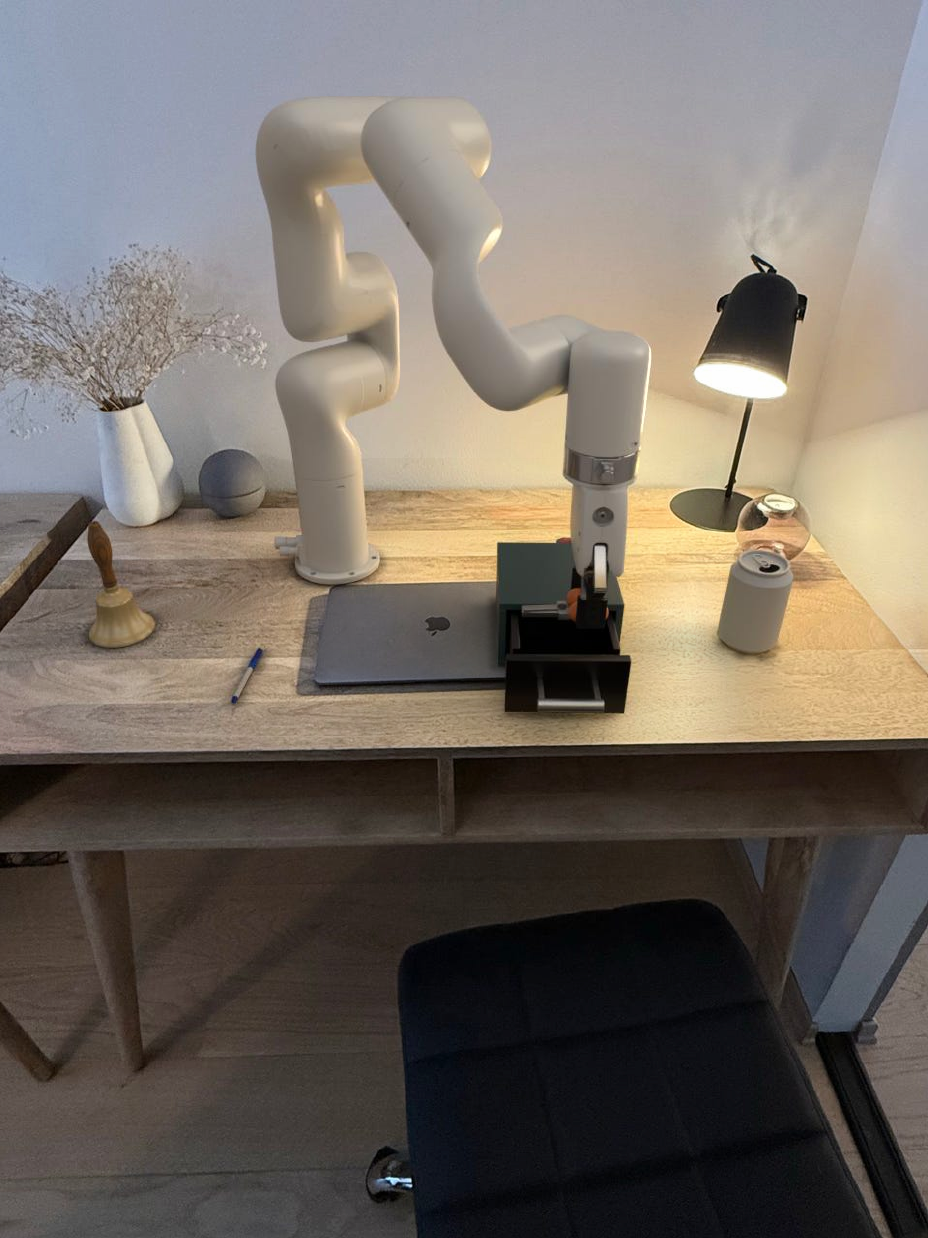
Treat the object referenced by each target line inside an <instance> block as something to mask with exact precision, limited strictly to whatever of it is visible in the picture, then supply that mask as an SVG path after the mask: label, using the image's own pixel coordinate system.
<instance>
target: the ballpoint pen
mask: <svg viewBox="0 0 928 1238" xmlns="http://www.w3.org/2000/svg"><path fill="white" fill-rule="evenodd" d="M262 653H263V649H262V648H261V647H258V648H257V649H256V651H255V652H254V655H253V656H252V658H251V660H250V662H249V664H248V666H247V668H246V671H245V672H244V674H243V676H242V678H241V680H240V682H239V684H238V686H237V688H236V689H235V691H234V693H233V695H232V697H231V701H230V703H232V704H234V703H235V702H236V701H237V700H238V699H239V697H240V696H241V694H242V691H243V690H244V687H245V685H246V684H247V681H248V680H249V678H250V676H251V674H252V672H253V671H254V670H255V668H256V665H257V663H258V662H259V660H260V658H261V656H262Z"/></svg>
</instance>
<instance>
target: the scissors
mask: <svg viewBox="0 0 928 1238" xmlns="http://www.w3.org/2000/svg"><path fill="white" fill-rule="evenodd" d="M578 595H581V588H575V589H572V590H571V591H569V593H568V594H567V601H557V604H556V605H525V606H522V617H558V620H570V619H572V620H573V621H574V622H575V621H576V609H577V597H578ZM608 614H609V611H608V608H607V613H606V618H607V617H608Z"/></svg>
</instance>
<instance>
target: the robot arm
mask: <svg viewBox="0 0 928 1238" xmlns="http://www.w3.org/2000/svg"><path fill="white" fill-rule="evenodd" d="M255 141H256V142H255V164H256V170H257V175H258V181H259V184H260V188H261V191H262V195H263V198H264V201H265V205H266V208H267V212H268V216H269V220H270V221H269V222H270V228H271V239H272V248H273V249H272V250H273V260H274V270H275V279H276V289H277V299H278V306H279V311H280V317H281V321H282V324H283V326H284V328H285V330H286V332H287V333H288V334H289V336H291V338H293V339H295V340H297V341H299V342H302V343H316V342H323V341H327V340H333V339H336V338H340V337H345V336H346V339H347V340H345V341H342V342H339V343H335V344H328V345H325V346H321V347H317V348H313V349H310V350H307V351H304V352H300V353H298V354H295V355H294V356H292V357H290V358H289V359H287V360H286V361H284V363H283V364H282V365H281V367H279V368H278V370H277V373H276V377H275V381H274V382H275V383H274V385H275V387H274V388H275V394H276V398H277V401H278V405H279V408H280V411H281V414H282V417H283V420H284V424H285V428H286V432H287V435H288V441H289V447H290V454H291V459H292V467H293V469H292V470H293V475H294V483H295V484H294V485H295V491H296V499H297V507H298V515H299V523H300V531H301V534H296V535H295V536H275V537H274V541H273V543H274V544H273V545H274V549H275V550H278V551H279V556H280V557H283V556H284V557H289V556H295V558H294V568H295V570H296V573H297V575H299V577H301V578H303V579H304V580H306V581H309V582H311V583H315V584H319V585H327V586H329V585H332V586H333V585H345V584H351V583H355V582H357V581H361V580H363V579H365V578H367V577H369V576H370V575H372V574H373V573H374V572H375V571H376V570H377V569H378V567H379V565H380V563H381V562H380V559H381V557H380V553H379V550H378V549H377V548H376V547H375V546H374V545H373V544H371V543H369V538H368V536H369V535H368V525H367V524H368V523H367V522H368V521H367V511H366V509H367V508H366V497H365V484H364V472H363V471H364V470H363V459H362V457H363V456H362V451H361V447H360V445H359V443H358V441H357V440H356V438H355V436H354V435H353V434H352V433H351V432H350V430H349V429H348V428H347V425H346V420H348V419H350V418H352V417H354V416H356V415H357V416H358V415H359V414H362V413H365V412H369V411H371V410H373V409H377V408H380V407H381V406H384V405H386V404H388V403H389V402H391V400H393V398H394V397H395V396H396V394H397V393H398V389H399V385H400V380H401V339H400V336H401V335H400V334H401V333H400V306H399V305H400V304H399V293H398V288H397V284H396V281H395V279H394V275H393V274H392V272H391V270H390V268H389V267H388V265H387V263H385V262H384V261H383V259H381V258H380V257H379V256H377V255H376V254H374V253H371V252H368V251H353V252H346V249H345V228H344V223H343V222H344V221H343V219H342V216H341V213H340V211H339V209H338V207H337V205H336V203H335V201H334V199H333V198H332V196H331V195H330V193H329V192H328V190H327V188H332V187H342V186H356V185H364V184H372V183H376V184H377V185H378V187H379V188H380V190H381V192H382V193H383V194H384V196H385V198H386V199H387V200H388V202H389V204H390V205H391V207H392V208H393V210H394V211H395V212H396V214H397V216H398V217H399V218H400V220H401V222H402V223H403V224H404V226H405V228H406V230H408V232H409V234H410V235H411V237H412V238H413V240H414V242H415V243H416V244H417V246H418V247H419V249H420V250H421V252H422V253H423V254H424V256H425V257H426V259H427V261H428V263H429V264H430V267H431V268H432V280H431V281H432V282H431V303H432V311H433V316H434V322H435V327H436V331H437V335H438V337H439V339H440V342H441V344H442V346H443V348H444V350H445V352H446V354H447V355H448V357H449V358H450V360H451V362H452V363H453V364H454V366H455V368H456V369H457V370H458V372H459V373H460V375H461V377H462V378H463V379H464V381H465V382H466V384H467V385H468V386H469V387H470V389H471V390H472V392H474V393H475V394H476V396H477V397H478V398H479V399H480V400H481V401H483V402H484V403H485V404H486V405H488V406H489V407H491V408H493V409H495V410H498V411H500V412H508V413H509V412H510V413H511V412H517V411H521V410H522V409H525V408H526V409H527V408H528V407H531V406H534V405H536V404H539V403H541V402H543V401H546V400H548V399H551V398H554V397H555V398H556V397H559V396H564V395H567V403H566V415H565V416H566V417H565V430H564V446H563V460H562V476H563V478H564V479H565V480H566V481H567V482H568V483H570V484H572V486H571V487H572V488H571V501H570V517H569V519H570V520H569V521H570V524H569V525H570V527H569V530H570V531H569V533H570V534H569V535H570V538H571V545H572V550H573V556H574V566H576V567H573V568H572V580H571V590H572V589H575V588H581V595H578V597H577V609H576V621H575V624H576V628H578V629H603V628H604V627H605V622H606V613H607V603H608V578H609V566H610V569H611V572H612V574H613V576H617V578H620V577H622V576H623V574H624V573H625V562H626V561H625V559H626V549H627V548H626V547H627V546H626V545H627V534H628V533H627V532H628V520H629V519H628V517H629V486H631V485H632V484H634V483H635V482H636V481H637V478H638V472H639V463H640V454H641V447H642V446H641V444H642V437H643V430H644V429H643V428H644V420H645V413H646V405H647V396H648V388H649V379H650V371H651V370H650V369H651V363H652V362H651V361H652V350H651V346H650V344H649V342H648V341H647V340H646V339H645V338H644V337H642V336H640V335H638V334H635V333H633V332H629V331H622V330H607V329H604V328H601V327H599V326H596V325H594V324H592V323H590V322H588V321H586V320H583V319H582V318H579V317H577V316H574V315H573V316H572V315H568V314H556V315H551V316H548V317H544V318H541V319H536V320H533V321H529V322H526V323H523V324H519V325H515V326H512V327H509V328H507V326H505V324H504V322H503V321H502V320H501V318H500V316H499V315H498V314H497V312H496V311H495V308H494V307H493V306H492V304H491V303H490V301H489V299H488V297H487V296H486V294H485V291H484V289H483V286H482V283H481V279H480V273H479V264H480V263H481V262H482V261H483V260H484V259H485V258H486V257H487V256H488V255H489V254H490V252H492V250H493V249H494V247H495V245H496V244H497V243H498V241H499V240H500V236H501V234H502V231H503V226H504V219H503V215H502V213H501V211H500V209H499V207H498V206H497V205H496V203H495V202H494V201H493V199H492V198H491V196H490V195H489V193H488V191H487V190H486V188H485V187H484V186H483V185H482V183H481V182H480V179H481V178H482V177H483V176H484V174H485V173H486V171H487V170H488V168H489V165H490V162H491V157H492V138H491V132H490V130H489V127H488V124H487V122H486V121H485V118H484V116H483V115H482V114H481V112H480V110H479V109H477V108H476V107H475V105H473V104H472V103H471V102H469V101H468V100H466V99H463V98H460V97H457V96H429V97H428V96H427V97H426V96H425V97H424V96H423V97H420V96H419V97H416V96H397V95H395V96H394V95H367V96H366V95H364V96H363V95H361V96H359V95H358V96H314V97H313V96H311V97H303V98H296V99H292V100H289V101H286V102H282V103H281V104H279V105H277V106H275V107H274V108H272V109H271V110H269V112H267V114H266V115H265V117H264V118H263V120H262V122H261V123H260V126H259V128H258V132H257V135H256V140H255Z"/></svg>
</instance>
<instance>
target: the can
mask: <svg viewBox="0 0 928 1238" xmlns="http://www.w3.org/2000/svg"><path fill="white" fill-rule="evenodd" d="M791 568H792V565H791V562H790V561H789V560H788V558H787V557H785V556H784V555H781V554H780V553H777V552H774V551H771V550H768V549H767V550H766V549H749V550H744V551H743V552H741V553H740V554H739V555H738V556H737V559H736V560H735V561H733V562H732V564H731V565H730V567H729V573H728V578H727V583H726V587H725V592H724V595H723V596H724V597H723V601H722V607H721V610H720V611H721V612H720V615H719V621H718V625H717V634H718V635H717V636H718V637H719V639H721V640H722V641H723V642H724V644H725V645H726V646H727V647H728V648H730V649H732V650H734V651H737V652H738V653H742V654H749V655H751V654H752V655H757V654H762V653H764V652H766V651H769V650H771V649H773V648H775V647H776V645H777V643H778V641H779V638H780V633H781V628H782V626H783V622H784V618H785V613H786V610H787V607H788V603H789V599H790V598H789V597H790V595H791V592H792V591H791V590H792V587H793V584H794V583H793V582H794V573H793V572H792V570H791Z"/></svg>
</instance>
